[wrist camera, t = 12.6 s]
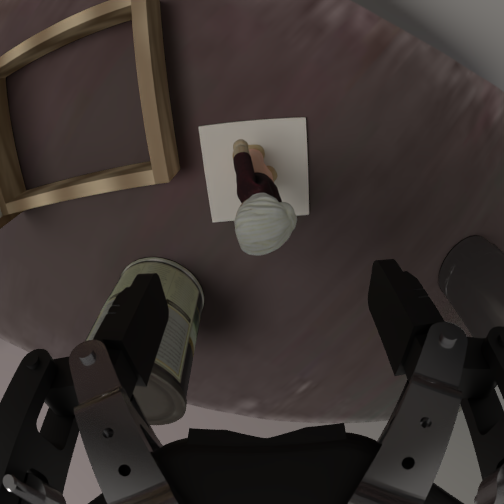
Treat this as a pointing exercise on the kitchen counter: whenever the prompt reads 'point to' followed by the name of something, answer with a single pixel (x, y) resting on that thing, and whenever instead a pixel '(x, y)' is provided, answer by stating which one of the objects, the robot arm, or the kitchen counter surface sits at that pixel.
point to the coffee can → (166, 338)
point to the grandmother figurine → (259, 203)
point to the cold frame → (151, 94)
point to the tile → (276, 155)
